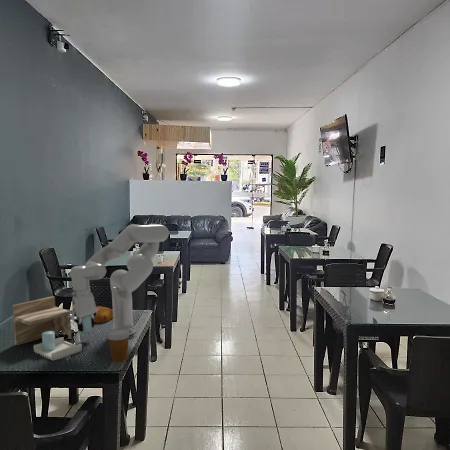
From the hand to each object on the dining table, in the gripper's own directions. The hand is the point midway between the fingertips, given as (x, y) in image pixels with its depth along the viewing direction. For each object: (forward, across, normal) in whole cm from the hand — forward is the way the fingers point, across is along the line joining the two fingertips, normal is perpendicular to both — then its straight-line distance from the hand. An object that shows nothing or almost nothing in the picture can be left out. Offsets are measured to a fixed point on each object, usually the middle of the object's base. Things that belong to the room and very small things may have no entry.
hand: (86, 328), depth 204 cm
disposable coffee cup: (+6, -4, -30) cm, 31 cm away
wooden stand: (+5, -14, +15) cm, 21 cm away
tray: (+5, -16, -2) cm, 17 cm away
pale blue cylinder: (+1, 0, 0) cm, 1 cm away
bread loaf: (+8, +23, +24) cm, 34 cm away
